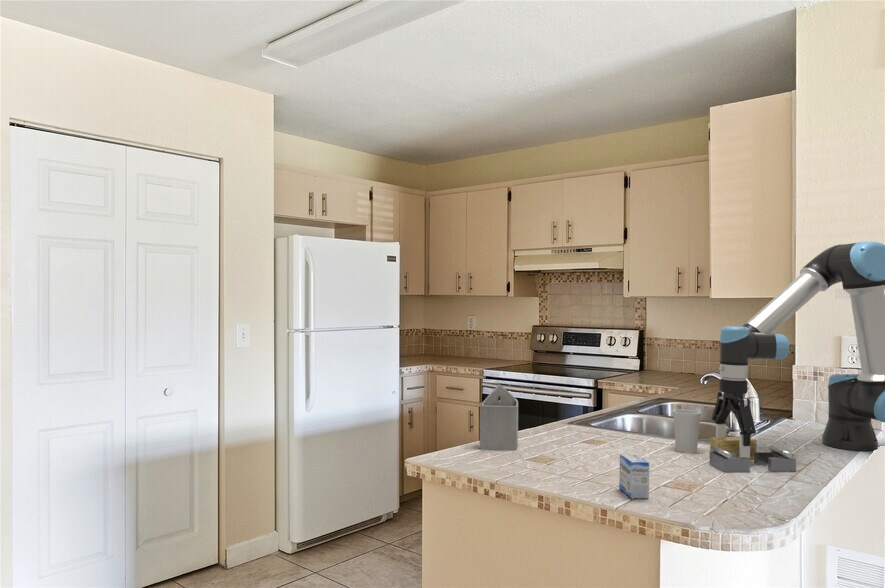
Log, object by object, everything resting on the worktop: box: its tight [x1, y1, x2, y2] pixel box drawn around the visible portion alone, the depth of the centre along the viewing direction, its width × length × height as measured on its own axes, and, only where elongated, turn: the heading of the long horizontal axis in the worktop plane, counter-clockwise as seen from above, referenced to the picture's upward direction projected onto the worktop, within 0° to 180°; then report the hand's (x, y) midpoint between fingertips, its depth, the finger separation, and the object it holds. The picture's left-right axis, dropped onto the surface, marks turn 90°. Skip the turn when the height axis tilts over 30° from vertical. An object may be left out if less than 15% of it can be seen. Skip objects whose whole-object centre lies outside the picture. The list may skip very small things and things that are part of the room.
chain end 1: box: [708, 446, 751, 473], centre depth 175 cm, size 7×8×5 cm
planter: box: [479, 384, 519, 451], centre depth 197 cm, size 16×8×19 cm, turn 129°
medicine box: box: [618, 453, 650, 499], centre depth 151 cm, size 8×4×9 cm, turn 5°
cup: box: [672, 408, 701, 454], centre depth 195 cm, size 8×8×12 cm
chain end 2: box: [753, 445, 797, 473], centre depth 176 cm, size 7×8×5 cm
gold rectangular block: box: [709, 436, 758, 461], centre depth 186 cm, size 12×4×6 cm, turn 96°
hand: (732, 451), depth 185 cm, fingers open, 13 cm apart
